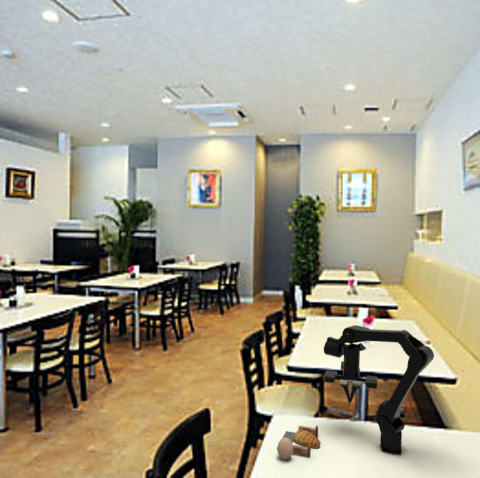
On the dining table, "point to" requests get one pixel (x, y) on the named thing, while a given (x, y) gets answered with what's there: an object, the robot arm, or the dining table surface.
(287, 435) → the mat
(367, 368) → the dining table surface
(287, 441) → the egg
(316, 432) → the wooden blocks
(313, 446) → the pastry
